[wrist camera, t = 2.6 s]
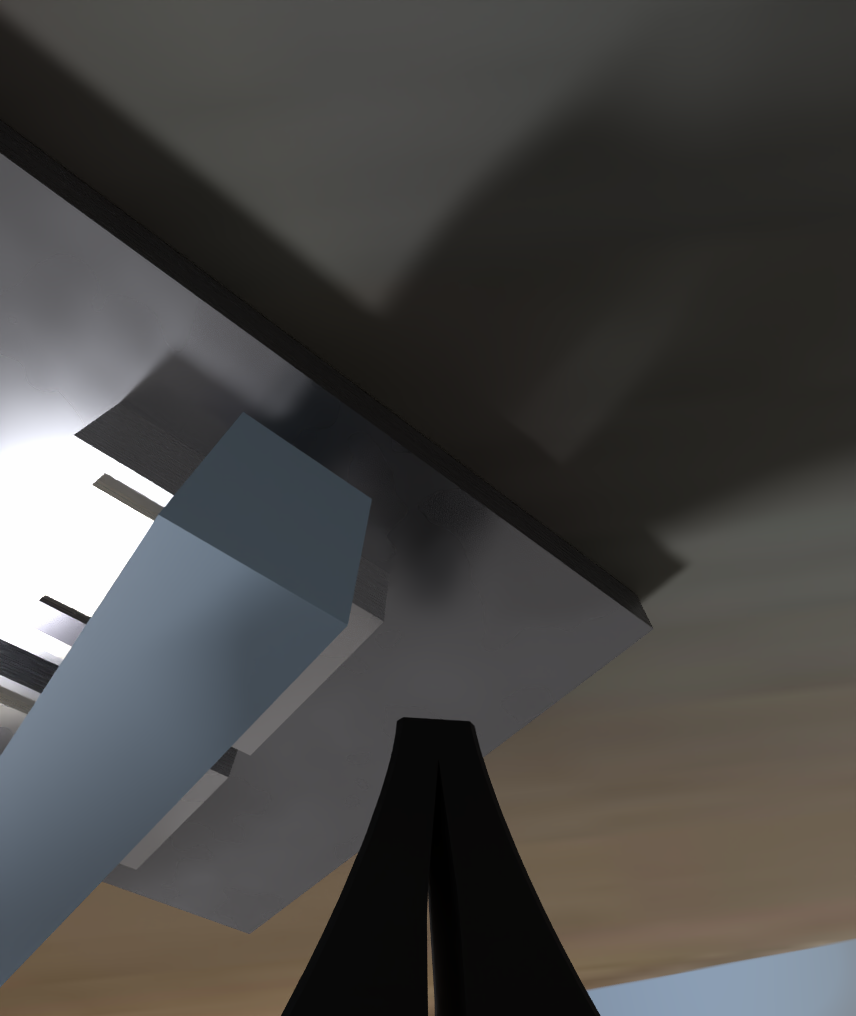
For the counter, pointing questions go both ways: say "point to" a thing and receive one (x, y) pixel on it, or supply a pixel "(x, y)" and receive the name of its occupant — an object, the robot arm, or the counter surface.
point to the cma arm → (173, 669)
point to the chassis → (165, 468)
